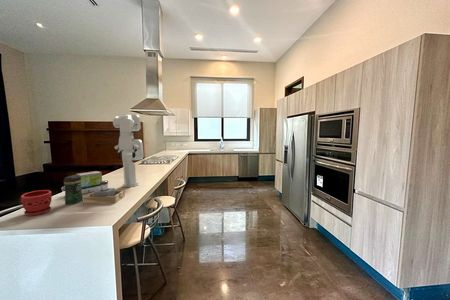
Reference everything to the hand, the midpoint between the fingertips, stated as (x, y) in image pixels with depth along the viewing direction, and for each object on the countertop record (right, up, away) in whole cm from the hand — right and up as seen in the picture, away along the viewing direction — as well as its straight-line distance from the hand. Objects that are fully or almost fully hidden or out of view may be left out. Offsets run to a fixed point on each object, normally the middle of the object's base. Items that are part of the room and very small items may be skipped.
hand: (127, 157), depth 152 cm
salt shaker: (-9, -26, -13) cm, 30 cm away
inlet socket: (-9, -29, -12) cm, 32 cm away
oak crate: (-9, -29, -12) cm, 33 cm away
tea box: (-36, -27, +12) cm, 46 cm away
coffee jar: (-28, -30, -15) cm, 44 cm away
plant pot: (-37, -32, -32) cm, 58 cm away
